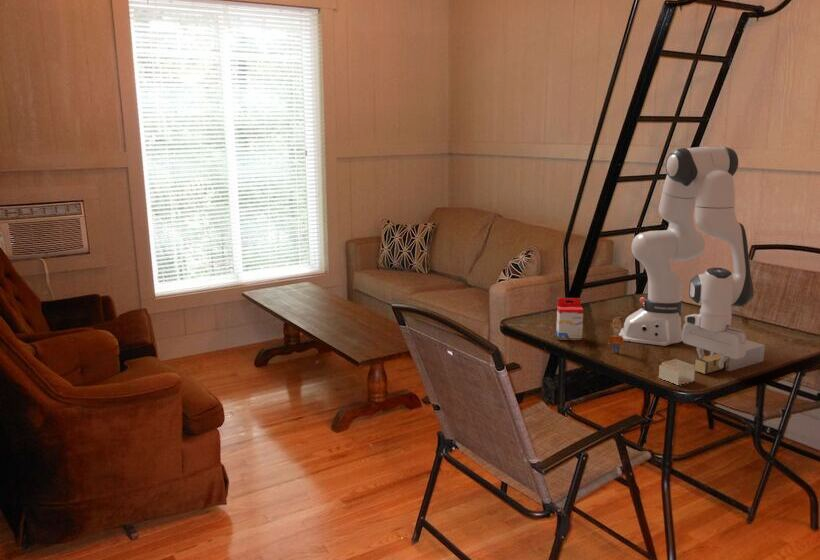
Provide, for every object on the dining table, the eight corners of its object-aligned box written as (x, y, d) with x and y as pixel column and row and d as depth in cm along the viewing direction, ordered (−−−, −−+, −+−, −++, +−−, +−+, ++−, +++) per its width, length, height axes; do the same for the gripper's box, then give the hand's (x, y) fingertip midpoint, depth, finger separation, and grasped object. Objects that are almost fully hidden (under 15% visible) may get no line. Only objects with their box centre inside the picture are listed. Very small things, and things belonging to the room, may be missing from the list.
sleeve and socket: (743, 355, 221) (745, 339, 219) (763, 361, 215) (765, 345, 213) (658, 378, 202) (659, 361, 200) (677, 386, 196) (679, 368, 194)
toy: (606, 352, 226) (608, 316, 223) (609, 350, 228) (610, 314, 225) (622, 355, 223) (624, 318, 220) (624, 352, 225) (626, 316, 223)
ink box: (558, 341, 239) (559, 301, 236) (555, 336, 244) (557, 297, 240) (582, 340, 239) (584, 301, 235) (579, 336, 243) (581, 297, 240)
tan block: (740, 357, 217) (741, 346, 216) (750, 360, 214) (751, 349, 213) (694, 370, 207) (695, 358, 206) (704, 373, 204) (705, 362, 203)
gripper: (752, 328, 197) (748, 372, 200) (693, 312, 214) (690, 353, 217) (739, 331, 194) (734, 376, 197) (680, 315, 211) (677, 357, 214)
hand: (711, 364), depth 207 cm, fingers open, 5 cm apart
